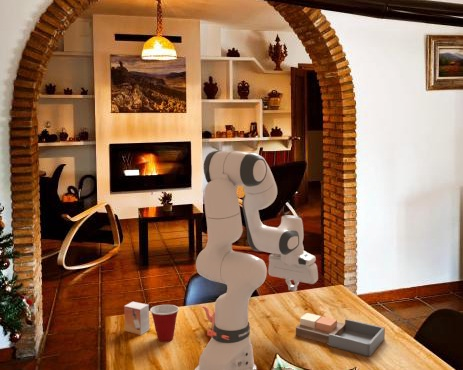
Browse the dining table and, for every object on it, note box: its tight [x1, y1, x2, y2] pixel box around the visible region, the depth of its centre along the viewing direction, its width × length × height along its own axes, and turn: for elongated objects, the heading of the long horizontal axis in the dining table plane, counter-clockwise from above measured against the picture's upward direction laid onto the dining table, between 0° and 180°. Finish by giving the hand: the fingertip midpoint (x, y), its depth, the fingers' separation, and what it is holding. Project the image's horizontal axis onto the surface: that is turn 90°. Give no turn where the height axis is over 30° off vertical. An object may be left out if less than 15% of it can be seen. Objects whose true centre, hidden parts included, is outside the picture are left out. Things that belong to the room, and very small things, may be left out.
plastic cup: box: [149, 304, 180, 343], centre depth 186 cm, size 11×11×12 cm
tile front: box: [316, 315, 338, 332], centre depth 187 cm, size 6×6×2 cm
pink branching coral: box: [200, 305, 215, 331], centre depth 193 cm, size 12×18×10 cm, turn 81°
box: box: [328, 318, 386, 358], centre depth 180 cm, size 16×15×4 cm
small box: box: [123, 301, 151, 336], centre depth 193 cm, size 8×6×10 cm
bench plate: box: [295, 321, 346, 345], centre depth 188 cm, size 13×14×3 cm
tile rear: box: [299, 312, 322, 328], centre depth 190 cm, size 6×6×2 cm
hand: (292, 290), depth 194 cm, fingers closed
